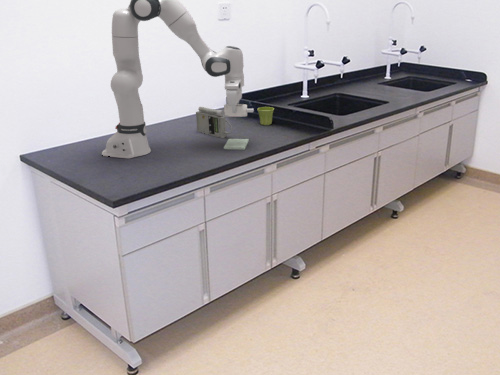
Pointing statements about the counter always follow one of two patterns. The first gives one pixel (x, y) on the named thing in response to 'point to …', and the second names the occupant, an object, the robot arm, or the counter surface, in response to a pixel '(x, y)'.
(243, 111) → the connector
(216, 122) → the geiger counter
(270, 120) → the plant pot
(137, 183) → the counter surface
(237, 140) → the green mat
